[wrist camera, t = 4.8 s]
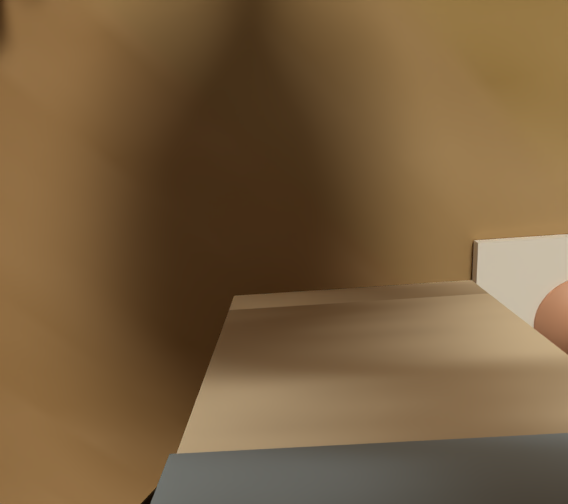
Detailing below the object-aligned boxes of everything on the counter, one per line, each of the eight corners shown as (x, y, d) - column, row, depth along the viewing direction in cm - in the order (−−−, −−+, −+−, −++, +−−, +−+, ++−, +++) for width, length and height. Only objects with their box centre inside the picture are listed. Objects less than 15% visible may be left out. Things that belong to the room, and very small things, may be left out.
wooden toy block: (253, 491, 10) (206, 937, 5) (231, 293, 9) (126, 565, 3) (466, 480, 10) (696, 930, 4) (473, 277, 9) (816, 534, 3)
